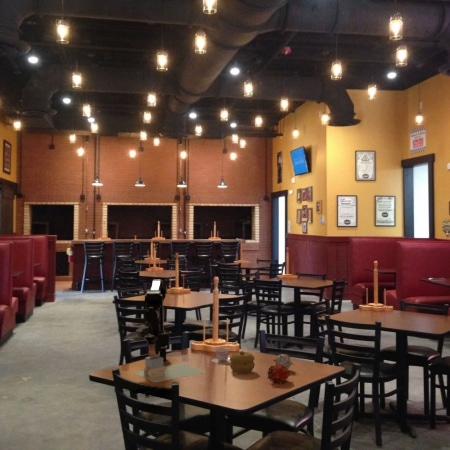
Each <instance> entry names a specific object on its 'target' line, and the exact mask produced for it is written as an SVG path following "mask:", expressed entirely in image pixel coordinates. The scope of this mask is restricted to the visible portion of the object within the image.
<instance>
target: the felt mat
mask: <svg viewBox="0 0 450 450" xmlns="http://www.w3.org/2000/svg"><path fill="white" fill-rule="evenodd" d="M164 366H165V375H164V376H159V377H154V378H150V377H148V376H145V375H144V369H143V370H140V371H139V370H138V371H134V372H131V374H132V375H136V376H139V377H141V378H143V379H145V380H147V381H151V382H152V383H160V382H164V381H171V380H174V379H180V378H185V377H189V376H194V375H195V376H196V375H199V374H204V373H207V371H206V370H203V369H200V368H198V367H194V366H191V365H189V364H186V363H181V362H180V363H175V364H172V365H171V364H170V365H164Z"/></svg>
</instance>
